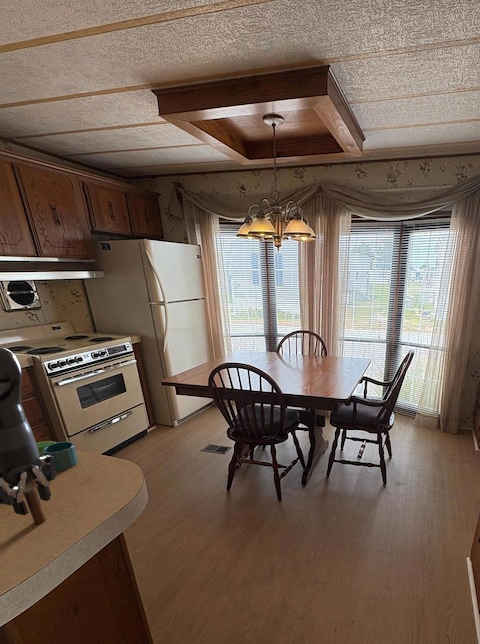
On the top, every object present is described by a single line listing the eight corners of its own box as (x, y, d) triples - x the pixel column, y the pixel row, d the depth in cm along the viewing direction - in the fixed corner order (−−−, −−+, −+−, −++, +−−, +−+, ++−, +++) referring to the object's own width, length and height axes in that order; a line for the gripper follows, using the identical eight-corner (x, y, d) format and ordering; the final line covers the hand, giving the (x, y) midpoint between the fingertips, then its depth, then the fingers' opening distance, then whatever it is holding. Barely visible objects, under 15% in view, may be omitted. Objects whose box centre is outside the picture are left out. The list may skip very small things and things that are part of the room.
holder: (43, 473, 100) (35, 451, 98) (65, 461, 107) (59, 440, 104) (64, 477, 99) (58, 454, 96) (85, 464, 106) (79, 443, 103)
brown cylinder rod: (31, 523, 81) (20, 492, 78) (40, 517, 83) (29, 486, 80) (39, 525, 81) (28, 493, 77) (48, 519, 83) (37, 487, 79)
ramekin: (30, 455, 110) (26, 443, 108) (64, 451, 113) (60, 439, 111) (20, 469, 102) (16, 456, 100) (57, 464, 106) (53, 451, 104)
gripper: (29, 427, 81) (49, 487, 87) (-41, 455, 68) (-12, 524, 74) (56, 430, 80) (74, 491, 86) (-10, 460, 67) (17, 529, 73)
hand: (34, 506), depth 80 cm, fingers open, 5 cm apart
